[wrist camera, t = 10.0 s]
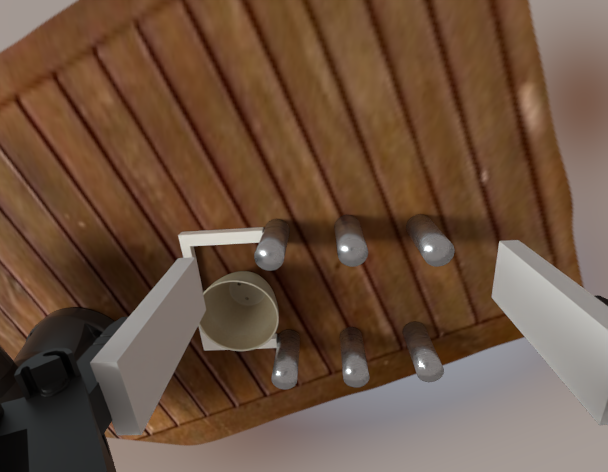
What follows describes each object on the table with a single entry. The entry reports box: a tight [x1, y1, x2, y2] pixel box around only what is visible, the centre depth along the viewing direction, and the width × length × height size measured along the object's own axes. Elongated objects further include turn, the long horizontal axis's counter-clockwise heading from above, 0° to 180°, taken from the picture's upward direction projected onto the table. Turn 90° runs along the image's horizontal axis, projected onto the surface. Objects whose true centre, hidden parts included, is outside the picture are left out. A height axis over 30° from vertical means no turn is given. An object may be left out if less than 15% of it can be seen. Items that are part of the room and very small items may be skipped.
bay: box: [178, 227, 278, 351], centre depth 49 cm, size 11×18×1 cm, turn 4°
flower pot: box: [199, 271, 279, 351], centre depth 46 cm, size 10×10×7 cm
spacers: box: [254, 214, 454, 389], centre depth 45 cm, size 21×20×8 cm
